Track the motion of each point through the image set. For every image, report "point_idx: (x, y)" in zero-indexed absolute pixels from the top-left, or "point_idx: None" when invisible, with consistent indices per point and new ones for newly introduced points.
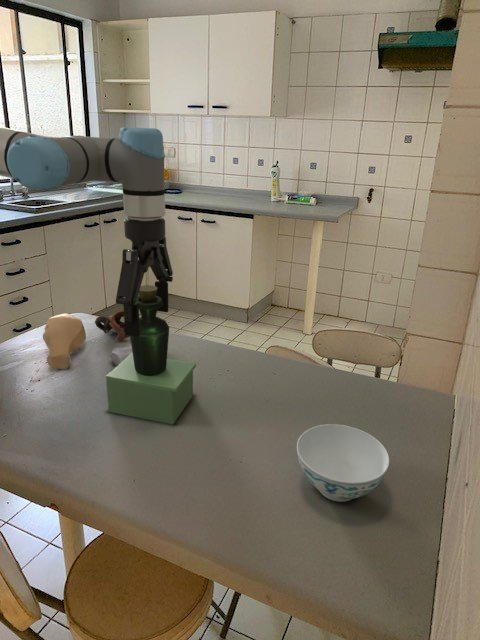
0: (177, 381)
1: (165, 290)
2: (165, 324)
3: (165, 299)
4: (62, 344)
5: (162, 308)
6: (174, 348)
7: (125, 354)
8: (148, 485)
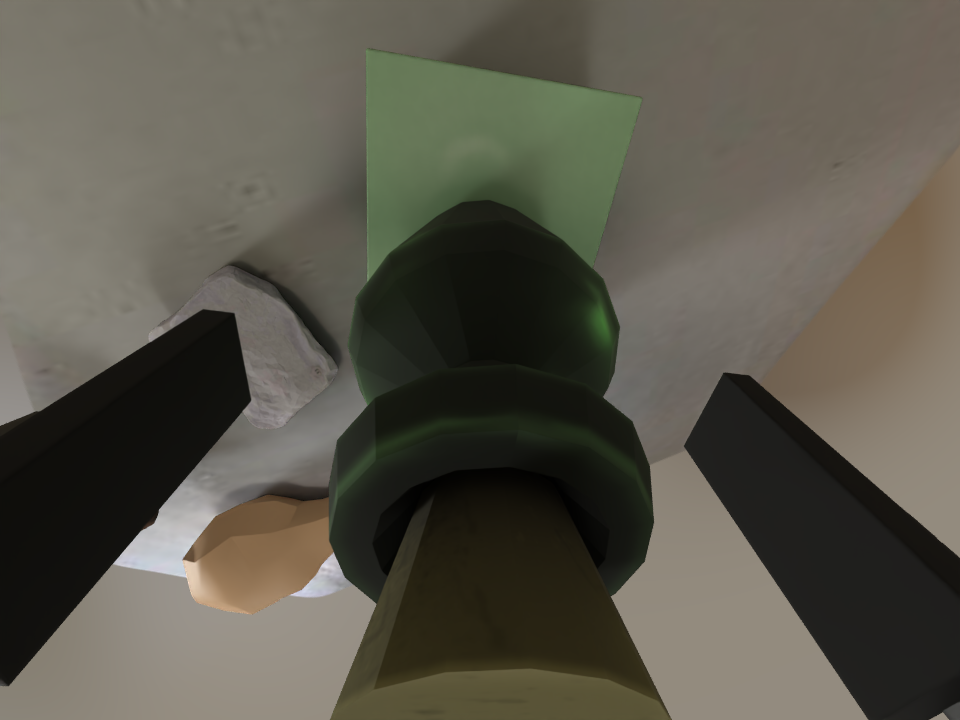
0: (575, 108)
1: (46, 472)
2: (480, 256)
3: (152, 390)
4: (323, 536)
5: (225, 364)
6: (98, 262)
7: (286, 391)
8: (869, 116)
